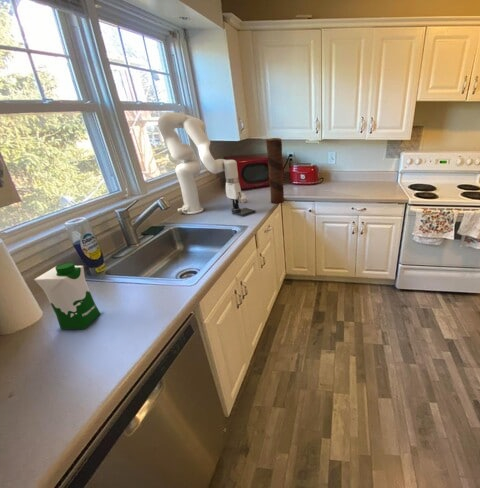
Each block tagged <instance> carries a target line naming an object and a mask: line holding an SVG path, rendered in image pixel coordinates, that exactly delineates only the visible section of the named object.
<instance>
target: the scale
mask: <svg viewBox="0 0 480 488" xmlns="http://www.w3.org/2000/svg"><path fill="white" fill-rule="evenodd" d="M230 212H231V214H232V215H236V216H239V217H241V218H244V217H246V216H250V215H252V214H255V213H256V209H252V208H249V207H248V208H247V207H242V208H240V207H239V208H238V209H237V210H234V209H233V207H232V208H231V209H230Z"/></svg>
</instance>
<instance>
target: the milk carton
mask: <svg viewBox="0 0 480 488" xmlns="http://www.w3.org/2000/svg"><path fill="white" fill-rule="evenodd" d="M33 281H34V282H36V283H37V285H38V286H39V287H40V288H41V289H42V290H43V292H44V294H45V295H46V298H47V299H48V301H49V303H50V306H51V308H52V309H53V311H54V314H55V316H56V319H57V322H58V325H59V328H60V330H85V329H86V328H88V327H89V326H90V325H91V324H92V323H93V322H94V321H95V320H96V319H97V318H98V317H99V316H100V315H101V313H100V310H99V308H98V306H97V305H96V303H95V300H94V297H93V295H92V293H91V291H90V288H89V286H88V283H87V281H86V277H85V269H84V265H75V264H74V262H70V261H69V262H64V263H60V264H58V265H56V266H54V267H52V268H51V269H49V270H47V271H46V272H44V273H42V274H41V275H39V276H37V277H36V278H34V279H33Z"/></svg>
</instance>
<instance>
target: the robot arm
mask: <svg viewBox="0 0 480 488" xmlns="http://www.w3.org/2000/svg"><path fill="white" fill-rule="evenodd" d="M157 126H158V130H159V132H160V135H161V136H162V138H163V140H164V143H165V145H166V147H167V150H168V152H169V154H170V156H171V158H172V159H173V161H175V162H181V161H183V162H181V163H179V164H177V165H176V167H175V174H176V178H177V180H178V183H179V186H180V191H181V195H182V201H183V202H182V203H183V205H182V207H180V208H179V207H178V208H177V212H182V213H183V214H185V215H195V214H200V213H202V212H204V207H202V206H201V202H200V197H199V192H198V185H197V183H196V181H195V178H194V177H196V176H198V175H199V174H200V173H201V165H200V162H199V160H198V157H197V155H196V153H195V150H194V148H193V147H192V146H191V145H189V144H188V143H183V142H182V140H181V138H180V136H179V134H178V133H177V132H176V130H175V129H184V131H185V132H186V134H187V135H188V137H189V138H190V140H192V142H193V144H194V145H195V146H196V148H197V151H198V155H199V158H200V160H201V162H202V164H203V165H204V167H205V168H206V169H207V170H208V172H209V173H211V174H214V175H217V174H219V173H222V172H224V175H225V195H226V198H227V199H229V200H230V201H231V203H232V208H233V209H238V208H240V207H239V206H240V205H239V202H240V201H241V198H242V194H241V193H242V189H241V184H240V179H239V172H238V164H237V161H236V160H235V159H223V158H217V159H215V158H214V157H213V155H212V153H211V151H210V146H211V140H210V139H209V137H208V136H207V134H206V124H205V122H204V121H203V120H202V119H201V118H198V117H195V116H192V115H188V114H186V113H183V112H165V113H162V114H161V115H160V116H159V118H158V120H157Z"/></svg>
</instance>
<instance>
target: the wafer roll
mask: <svg viewBox="0 0 480 488" xmlns="http://www.w3.org/2000/svg"><path fill="white" fill-rule="evenodd" d="M282 142H283V141H282V138H279V137H271V138H266V139H265V146H266V156H267V164H268V182H269V190H270V202H271V203H273V204H283V203H284V202H285V195H284V194H285V192H284V191H285V190H284V189H285V188H284V165H283V143H282Z"/></svg>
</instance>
